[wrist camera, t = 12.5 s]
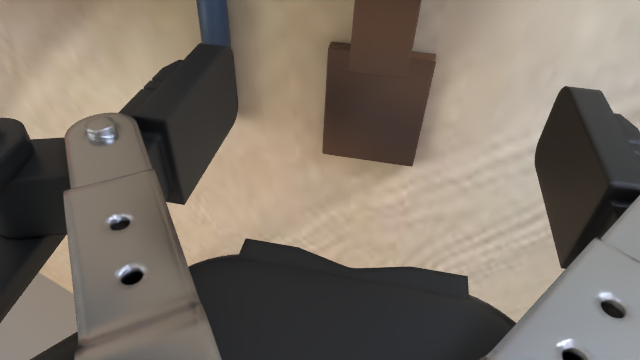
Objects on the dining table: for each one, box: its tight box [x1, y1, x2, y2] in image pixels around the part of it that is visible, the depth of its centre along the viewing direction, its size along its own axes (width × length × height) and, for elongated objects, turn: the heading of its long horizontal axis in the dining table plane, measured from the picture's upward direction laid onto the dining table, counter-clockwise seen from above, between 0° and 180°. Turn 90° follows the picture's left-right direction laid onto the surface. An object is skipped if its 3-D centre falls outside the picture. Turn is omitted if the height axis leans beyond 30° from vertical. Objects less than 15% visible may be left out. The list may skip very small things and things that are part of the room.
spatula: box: [322, 0, 436, 166], centre depth 21 cm, size 20×6×3 cm, turn 178°
